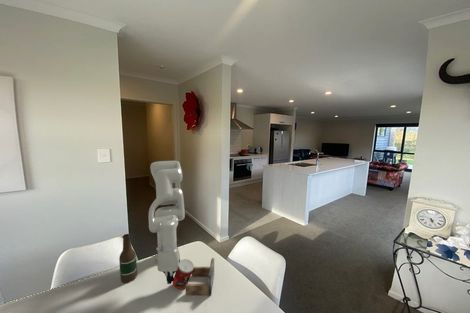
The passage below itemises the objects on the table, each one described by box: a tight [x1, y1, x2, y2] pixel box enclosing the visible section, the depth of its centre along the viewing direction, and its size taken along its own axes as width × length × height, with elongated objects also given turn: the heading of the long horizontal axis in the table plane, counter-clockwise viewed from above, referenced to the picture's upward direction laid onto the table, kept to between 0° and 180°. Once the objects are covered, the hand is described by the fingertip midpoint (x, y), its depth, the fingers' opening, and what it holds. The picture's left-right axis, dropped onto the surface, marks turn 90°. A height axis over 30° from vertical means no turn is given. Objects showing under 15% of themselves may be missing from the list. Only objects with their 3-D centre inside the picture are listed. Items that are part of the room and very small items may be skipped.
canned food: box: [172, 258, 195, 291], centre depth 96 cm, size 8×8×11 cm
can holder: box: [185, 257, 215, 297], centre depth 98 cm, size 12×13×10 cm
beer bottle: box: [118, 233, 138, 284], centre depth 102 cm, size 8×8×24 cm
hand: (170, 282), depth 96 cm, fingers closed
